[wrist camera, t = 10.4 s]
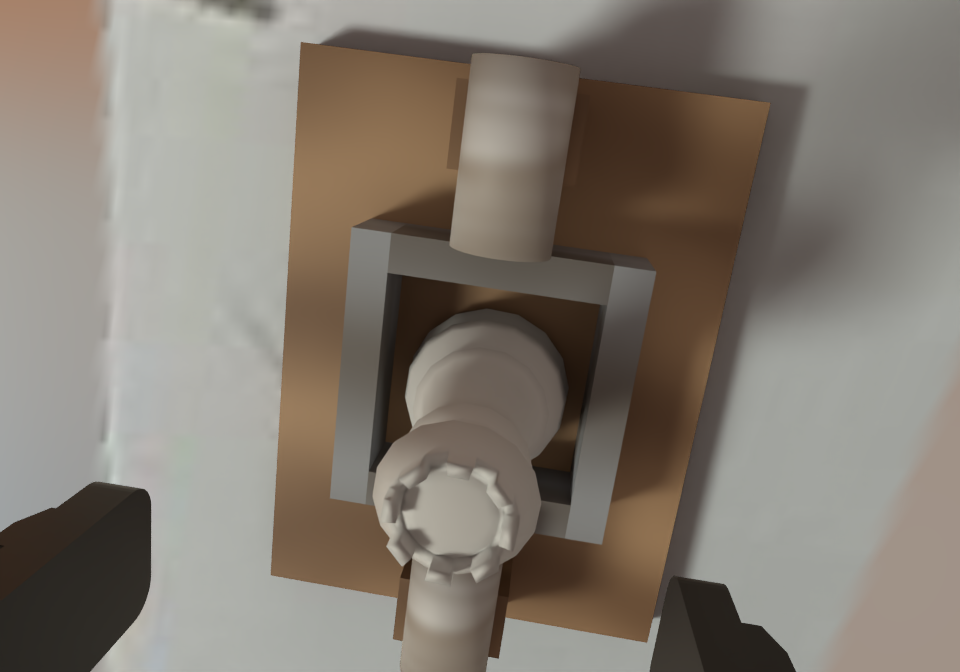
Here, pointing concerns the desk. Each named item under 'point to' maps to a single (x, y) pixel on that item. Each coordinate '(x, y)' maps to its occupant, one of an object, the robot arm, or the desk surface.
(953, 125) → the desk surface
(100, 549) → the robot arm
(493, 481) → the rook chess piece
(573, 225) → the frame on base plate
